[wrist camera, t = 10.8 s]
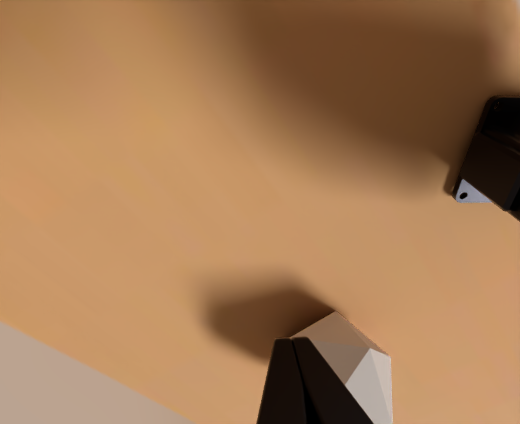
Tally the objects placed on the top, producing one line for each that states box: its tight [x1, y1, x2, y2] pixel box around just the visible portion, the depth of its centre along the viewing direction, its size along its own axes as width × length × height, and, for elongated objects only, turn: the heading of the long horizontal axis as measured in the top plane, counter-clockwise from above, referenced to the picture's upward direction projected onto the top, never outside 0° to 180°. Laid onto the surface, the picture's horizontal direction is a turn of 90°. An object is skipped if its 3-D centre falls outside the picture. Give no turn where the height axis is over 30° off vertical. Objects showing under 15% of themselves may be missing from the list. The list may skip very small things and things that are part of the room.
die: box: [289, 311, 393, 424], centre depth 26 cm, size 8×9×10 cm
